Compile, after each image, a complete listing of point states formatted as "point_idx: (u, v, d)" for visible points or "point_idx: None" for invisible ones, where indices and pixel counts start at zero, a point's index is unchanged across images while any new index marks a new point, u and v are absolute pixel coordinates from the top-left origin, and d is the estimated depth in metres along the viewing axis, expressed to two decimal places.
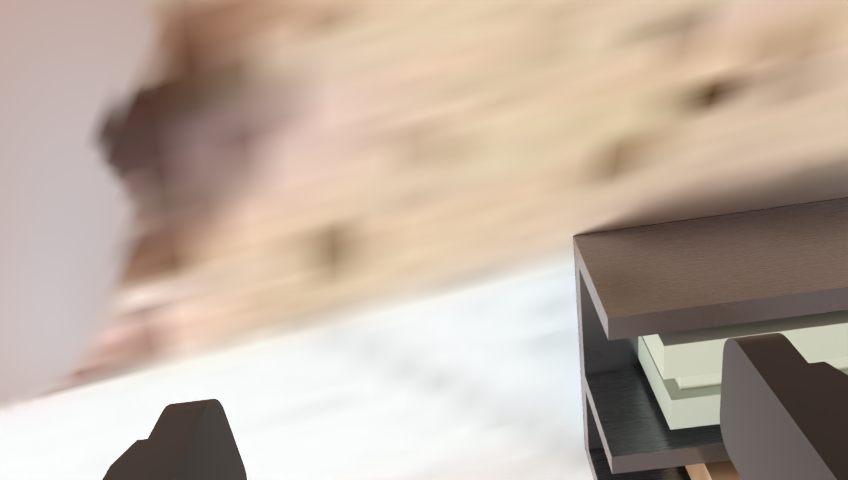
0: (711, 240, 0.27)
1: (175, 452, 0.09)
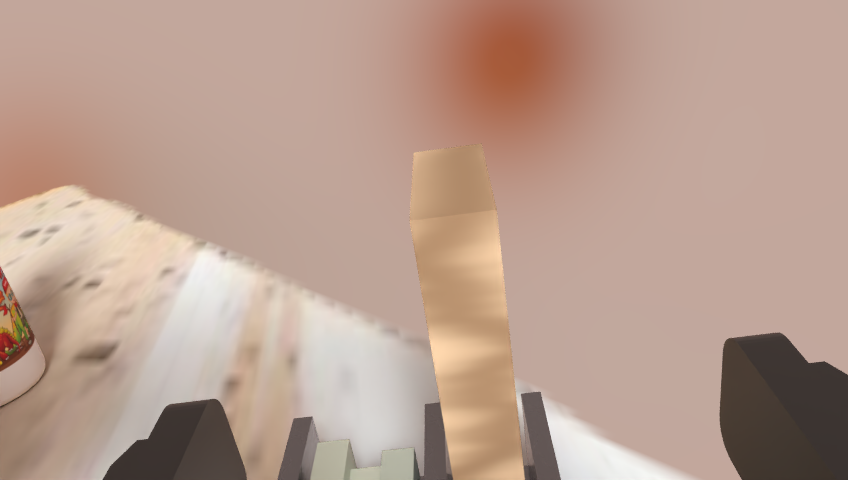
0: None
1: (175, 452, 0.09)
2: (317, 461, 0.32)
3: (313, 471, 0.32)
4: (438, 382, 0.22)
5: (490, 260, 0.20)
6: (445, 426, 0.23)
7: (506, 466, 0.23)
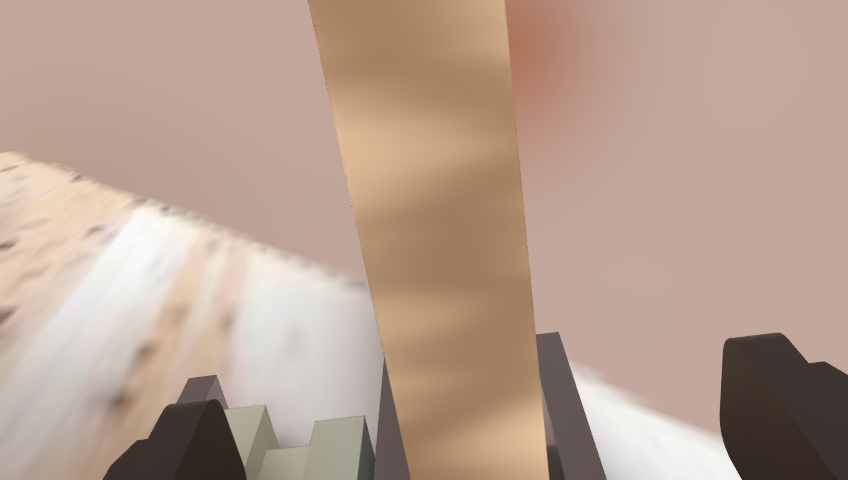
0: None
1: (175, 452, 0.09)
2: None
3: None
4: (361, 231, 0.10)
5: None
6: (382, 334, 0.11)
7: (509, 421, 0.12)
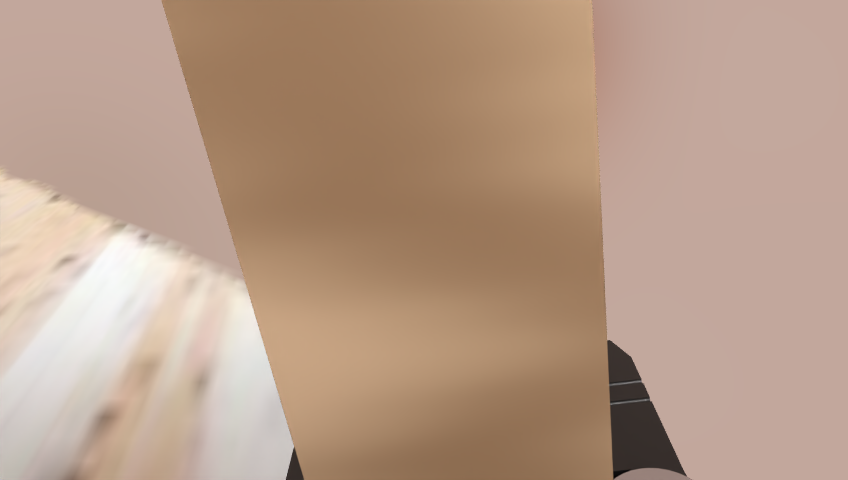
0: None
1: None
2: None
3: None
4: None
5: None
6: None
7: None
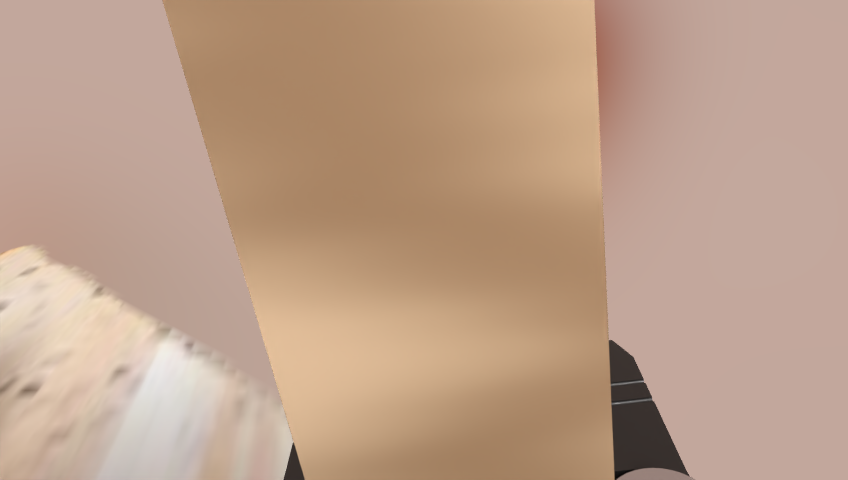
0: None
1: None
2: None
3: None
4: None
5: None
6: None
7: None
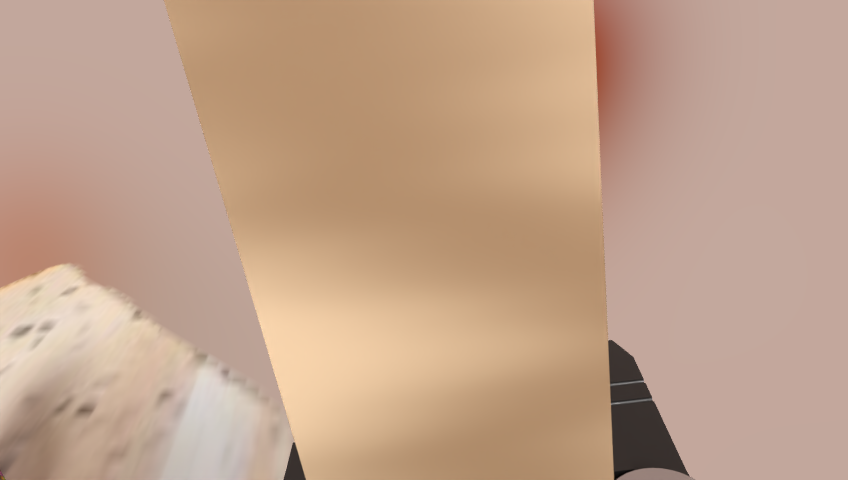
0: None
1: None
2: None
3: None
4: None
5: None
6: None
7: None
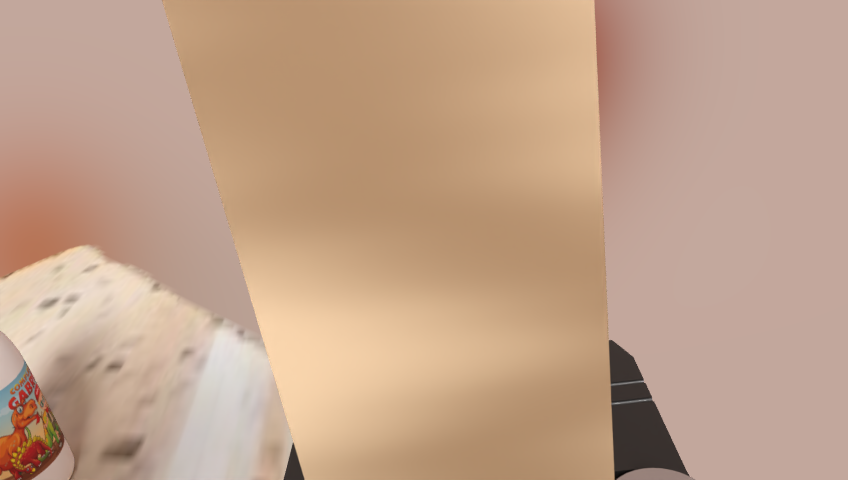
0: None
1: None
2: None
3: None
4: None
5: None
6: None
7: None
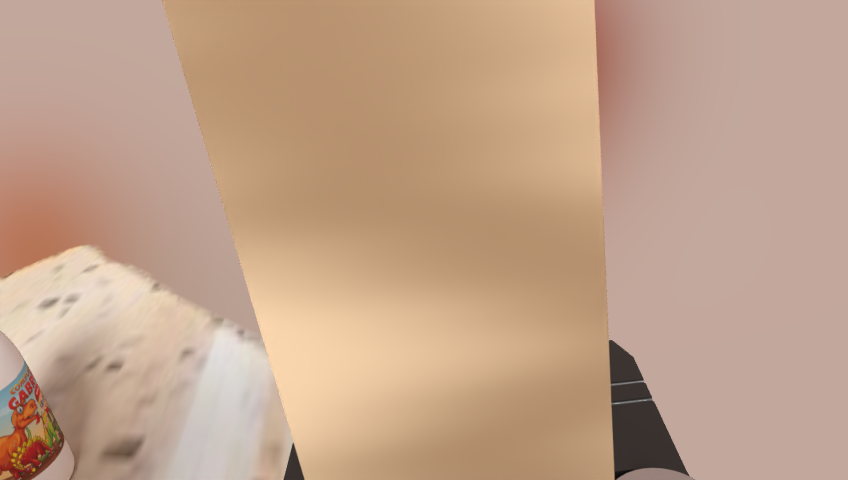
0: None
1: None
2: None
3: None
4: None
5: None
6: None
7: None
